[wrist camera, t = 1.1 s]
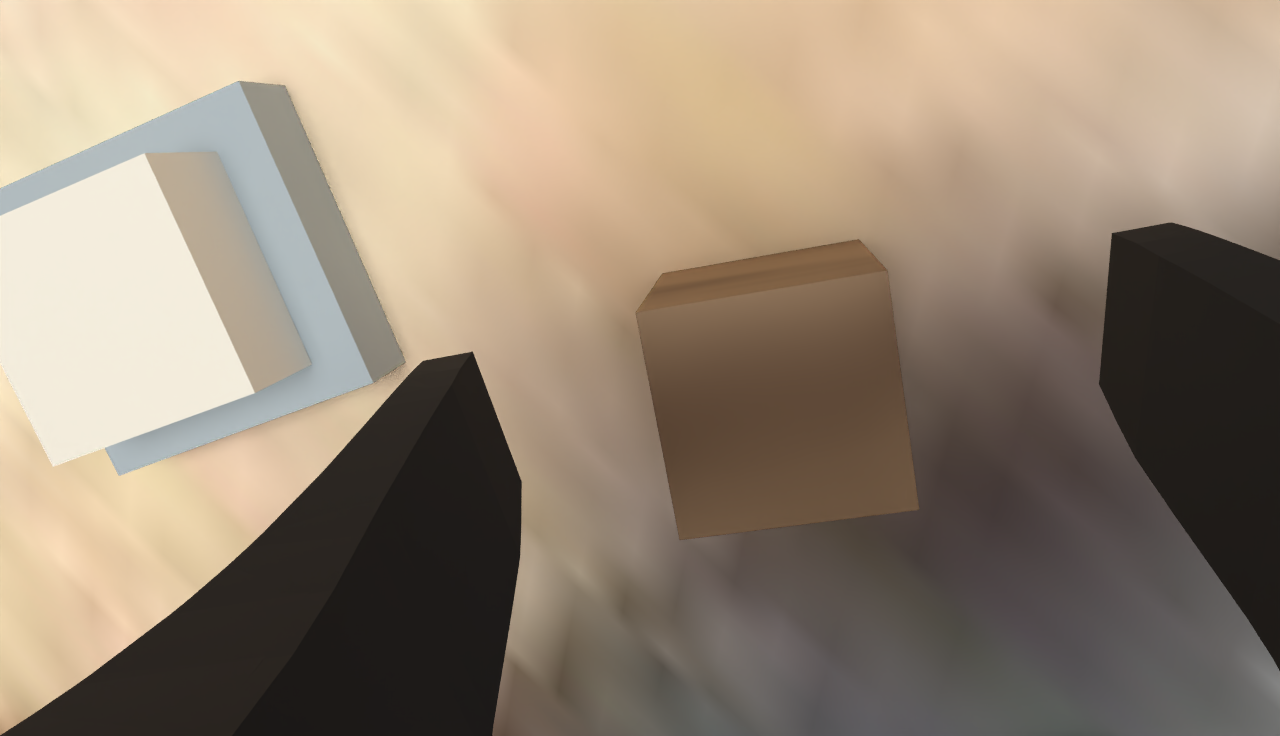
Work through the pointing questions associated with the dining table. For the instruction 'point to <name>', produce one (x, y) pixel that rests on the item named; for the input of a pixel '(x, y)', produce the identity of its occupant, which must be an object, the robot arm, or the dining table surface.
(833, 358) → the walnut block
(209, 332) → the cream block
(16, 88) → the dining table surface
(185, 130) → the tower base slab
